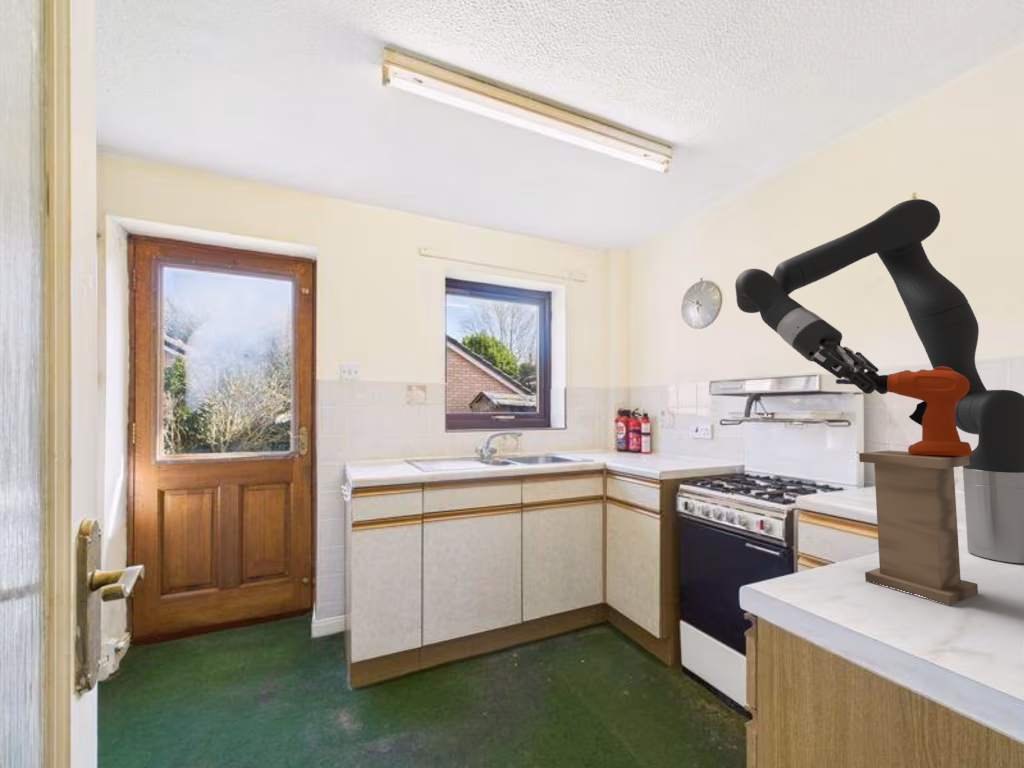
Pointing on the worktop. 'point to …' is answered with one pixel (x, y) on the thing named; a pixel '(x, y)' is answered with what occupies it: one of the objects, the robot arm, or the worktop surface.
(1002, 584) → the worktop surface
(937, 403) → the toy drill
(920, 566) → the walnut stand
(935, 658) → the worktop surface
